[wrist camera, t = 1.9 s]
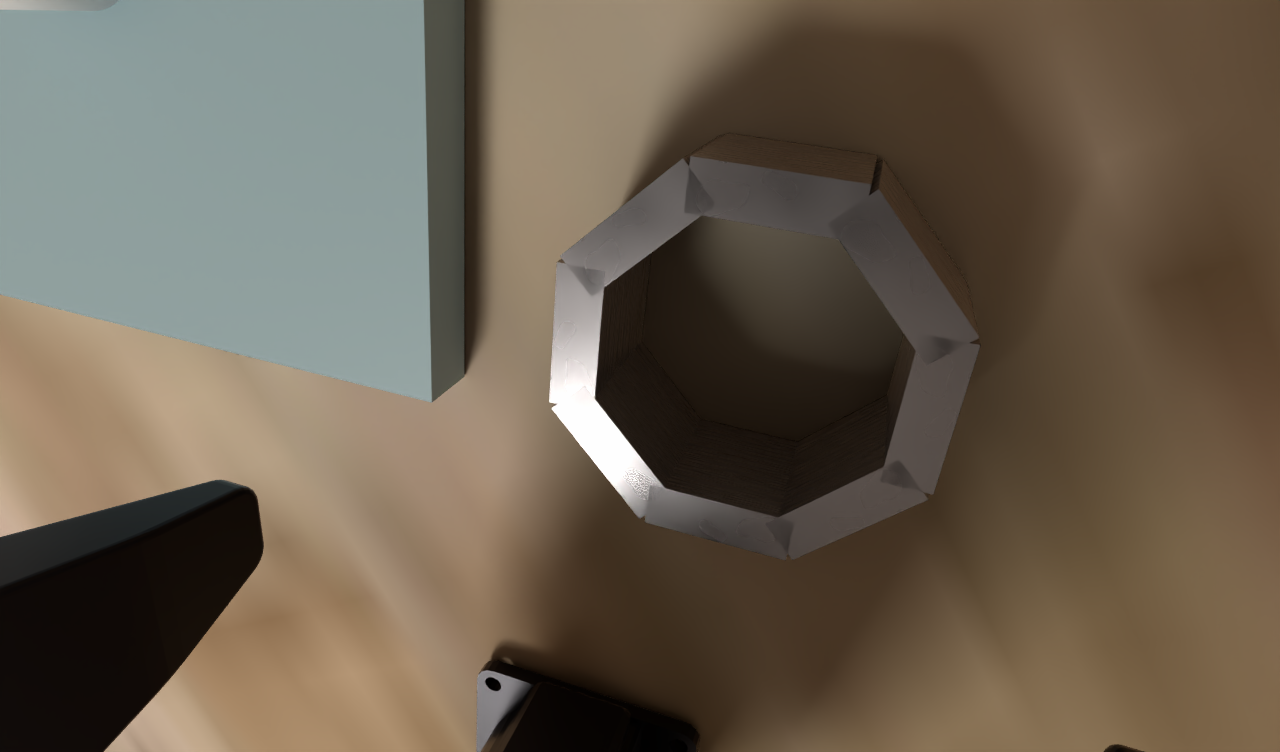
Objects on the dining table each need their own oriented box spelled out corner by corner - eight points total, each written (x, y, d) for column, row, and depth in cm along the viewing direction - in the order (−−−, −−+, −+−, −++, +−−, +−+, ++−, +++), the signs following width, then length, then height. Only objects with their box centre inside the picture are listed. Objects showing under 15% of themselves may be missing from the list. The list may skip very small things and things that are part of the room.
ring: (903, 504, 17) (902, 592, 14) (595, 428, 18) (544, 494, 16) (1001, 173, 14) (1024, 208, 11) (621, 117, 15) (563, 136, 13)
